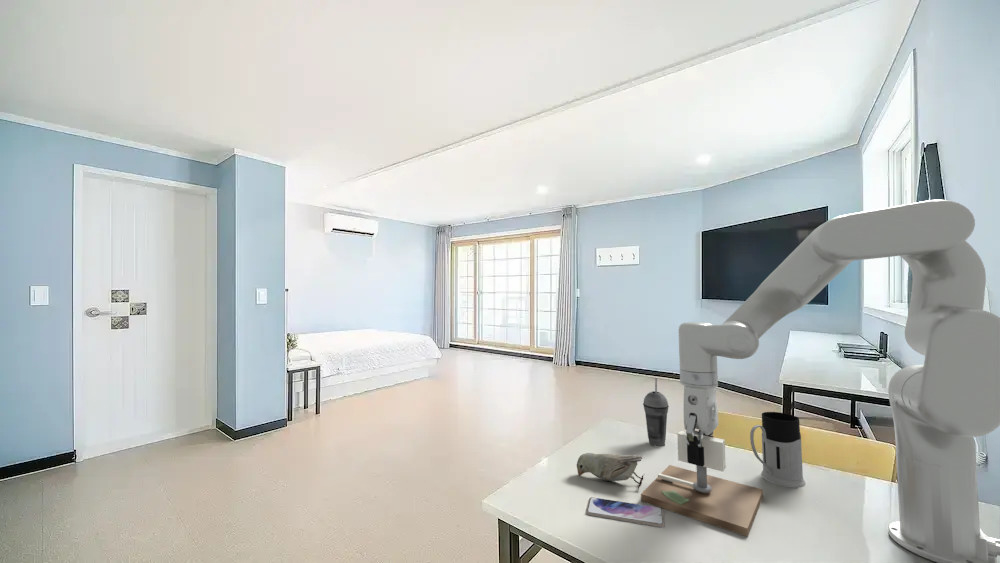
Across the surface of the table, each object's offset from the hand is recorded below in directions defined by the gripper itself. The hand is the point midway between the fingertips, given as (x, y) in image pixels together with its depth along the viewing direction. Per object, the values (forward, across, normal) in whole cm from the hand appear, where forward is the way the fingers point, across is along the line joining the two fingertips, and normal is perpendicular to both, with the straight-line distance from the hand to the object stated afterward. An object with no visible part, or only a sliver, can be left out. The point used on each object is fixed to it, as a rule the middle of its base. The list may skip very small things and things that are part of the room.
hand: (701, 457), depth 86 cm
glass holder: (+9, +20, -11) cm, 25 cm away
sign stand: (+7, 0, +2) cm, 8 cm away
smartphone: (+9, -16, +11) cm, 22 cm away
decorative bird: (+9, -5, +19) cm, 22 cm away
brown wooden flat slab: (+9, 0, 0) cm, 9 cm away
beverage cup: (+9, +26, +19) cm, 33 cm away
